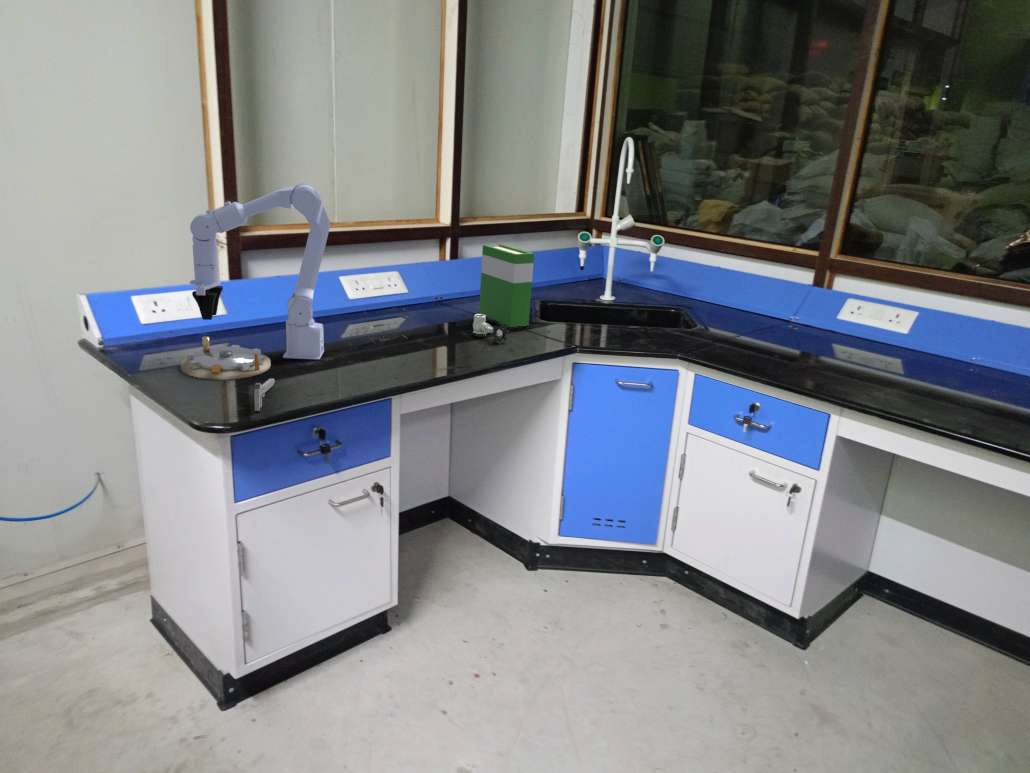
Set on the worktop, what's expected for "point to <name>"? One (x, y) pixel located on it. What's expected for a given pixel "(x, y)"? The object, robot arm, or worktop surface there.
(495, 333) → the valve
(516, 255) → the hardback book
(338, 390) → the worktop surface
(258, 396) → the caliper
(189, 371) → the mounting board
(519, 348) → the worktop surface
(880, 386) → the worktop surface
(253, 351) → the sprocket
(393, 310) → the worktop surface
